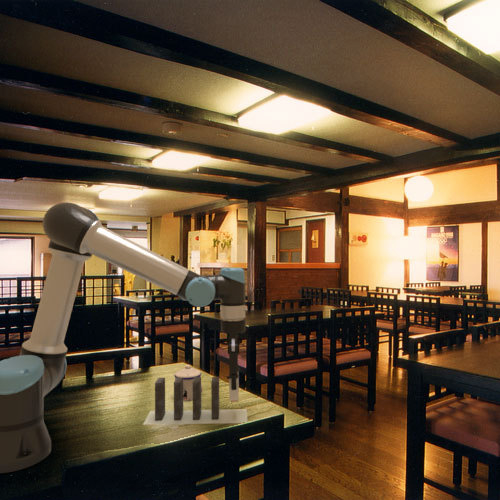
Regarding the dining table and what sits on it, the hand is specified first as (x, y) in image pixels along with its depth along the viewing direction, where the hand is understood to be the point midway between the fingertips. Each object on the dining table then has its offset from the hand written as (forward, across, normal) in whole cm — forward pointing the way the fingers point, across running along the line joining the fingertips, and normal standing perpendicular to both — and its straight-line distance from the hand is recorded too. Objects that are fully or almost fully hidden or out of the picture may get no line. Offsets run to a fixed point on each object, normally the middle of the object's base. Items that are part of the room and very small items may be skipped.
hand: (234, 396), depth 117 cm
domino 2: (+6, 0, +17) cm, 18 cm away
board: (+7, 0, +11) cm, 13 cm away
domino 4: (+6, 0, +6) cm, 8 cm away
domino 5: (+1, 0, 0) cm, 1 cm away
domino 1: (+6, 0, +22) cm, 23 cm away
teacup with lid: (+7, +16, +15) cm, 23 cm away
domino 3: (+6, 0, +11) cm, 13 cm away
